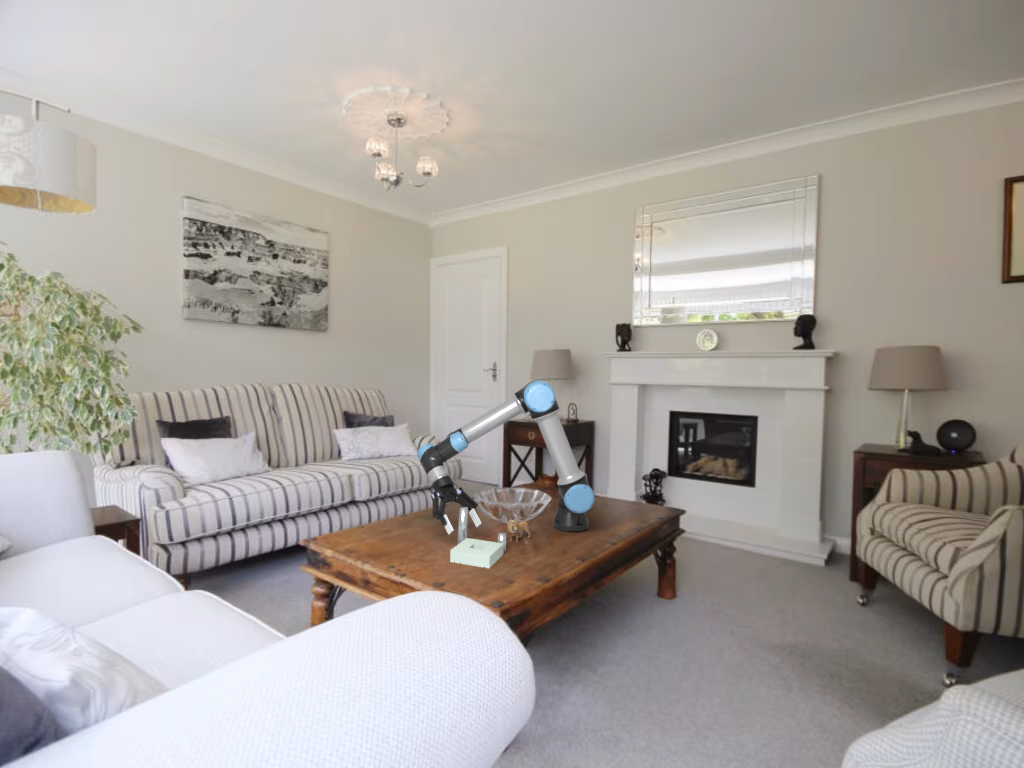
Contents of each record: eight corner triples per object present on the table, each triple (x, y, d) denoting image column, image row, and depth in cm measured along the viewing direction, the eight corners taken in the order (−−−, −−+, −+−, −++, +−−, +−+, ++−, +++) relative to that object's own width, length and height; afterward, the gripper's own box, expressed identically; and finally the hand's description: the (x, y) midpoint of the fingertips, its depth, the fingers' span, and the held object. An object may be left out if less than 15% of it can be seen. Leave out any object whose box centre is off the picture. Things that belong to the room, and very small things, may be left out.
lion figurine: (515, 546, 196) (516, 522, 195) (503, 543, 198) (504, 520, 198) (533, 536, 209) (534, 513, 208) (521, 534, 211) (522, 511, 211)
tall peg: (467, 544, 196) (469, 506, 195) (464, 547, 192) (465, 508, 192) (459, 543, 197) (461, 505, 196) (456, 546, 193) (457, 507, 193)
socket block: (503, 554, 186) (503, 543, 186) (489, 568, 173) (489, 556, 173) (466, 549, 191) (466, 537, 191) (450, 561, 177) (450, 550, 177)
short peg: (507, 549, 192) (507, 533, 192) (504, 552, 189) (505, 535, 189) (498, 548, 193) (499, 532, 193) (495, 551, 190) (496, 534, 190)
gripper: (460, 482, 214) (484, 527, 204) (409, 490, 196) (433, 541, 186) (470, 471, 210) (495, 517, 200) (418, 478, 192) (443, 529, 182)
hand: (465, 528), depth 193 cm, fingers open, 13 cm apart
